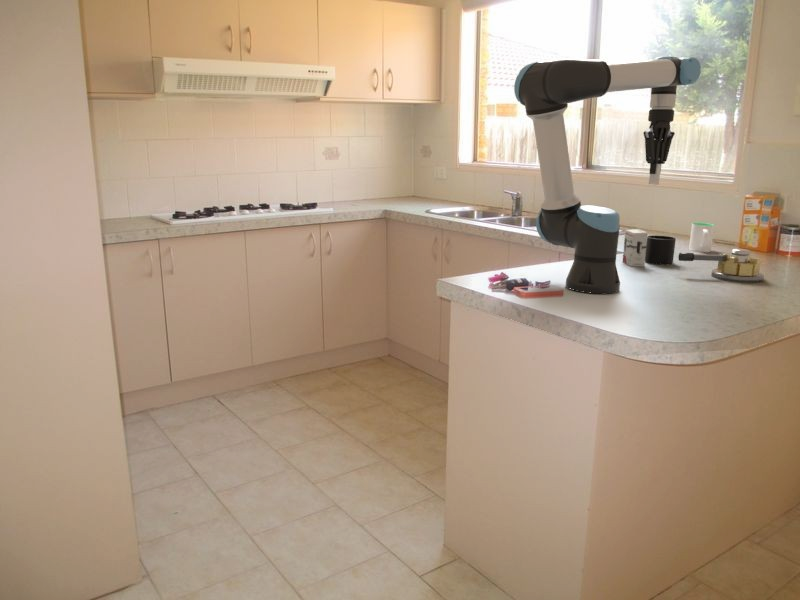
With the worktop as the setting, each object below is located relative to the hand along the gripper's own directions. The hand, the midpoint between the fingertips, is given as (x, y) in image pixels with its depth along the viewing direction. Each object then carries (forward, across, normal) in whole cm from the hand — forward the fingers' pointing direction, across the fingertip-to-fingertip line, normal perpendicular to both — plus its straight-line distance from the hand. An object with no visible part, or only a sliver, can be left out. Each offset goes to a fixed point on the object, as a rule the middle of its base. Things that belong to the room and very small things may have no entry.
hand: (653, 184), depth 216 cm
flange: (+28, -16, +23) cm, 40 cm away
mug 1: (+29, -17, -8) cm, 34 cm away
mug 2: (+29, -54, -14) cm, 63 cm away
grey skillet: (+27, -11, +19) cm, 34 cm away
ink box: (+29, -5, -9) cm, 30 cm away
